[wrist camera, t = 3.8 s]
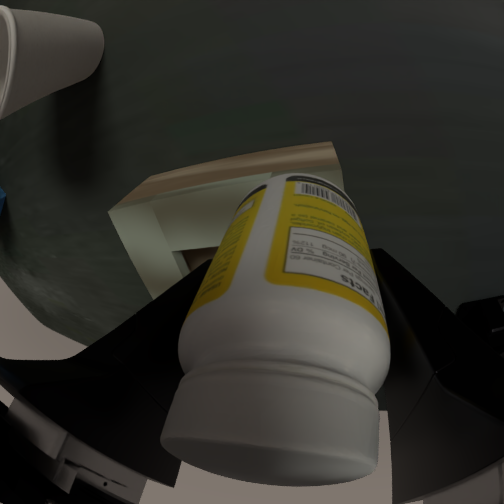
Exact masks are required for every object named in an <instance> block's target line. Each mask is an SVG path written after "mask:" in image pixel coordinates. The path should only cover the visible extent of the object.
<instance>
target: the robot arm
mask: <svg viewBox="0 0 504 504" xmlns="http://www.w3.org/2000/svg"><path fill="white" fill-rule="evenodd" d="M369 251H370V255H371V259H372V262H373V266H374V270H375V274H376V278H377V281H378V286H379V290H380V295H381V299H382V304H383V309H384V313H385V319H386V324H387V329H388V335H389V340H390V366H389V371H388V374H387V376H386V379H385V381H384V387H385V395H386V403H387V411H388V420H389V431H390V441H391V443H390V444H391V461H392V504H404V503H410V502H415V501H420V500H423V504H504V312H503V310H502V308H503V306H504V295H503V296H498V297H493V298H488V299H483V300H478V301H473V302H467V303H464V304H462V305H461V307H460V310H459V312H458V315H457V316H456V315H455V314H454V313H452V312H451V311H450V310H449V309H448V308H447V307H445V305H444V304H443V303H442V302H441V301H440V300H439V299H438V298H437V297H436V296H435V295H434V294H433V293H432V292H431V291H429V290H428V289H427V288H426V287H425V286H424V285H423V284H422V283H421V282H420V281H419V280H418V279H416V278H415V277H414V276H413V275H412V274H411V273H410V272H409V271H407V270H406V269H405V268H404V267H403V266H402V265H401V264H400V263H398V262H397V261H396V260H395V259H394V258H393V257H391V256H390V255H389V254H388V253H387V252H386V251H384V250H383V249H381V248H378V249H370V250H369ZM212 261H213V259H208V260H206V261H205V262H204V263H202V264H201V265H200V266H198V267H197V268H196V269H194V270H193V271H192V272H190V273H189V274H187V275H186V276H185V277H183V278H182V279H181V280H179V281H178V282H177V283H175V284H174V285H173V286H171V287H170V288H169V289H167V290H166V291H165V292H163V293H162V294H161V295H159V296H158V297H157V298H155V299H154V300H153V301H151V302H150V303H149V304H147V305H146V306H145V307H143V308H142V309H141V310H140V311H138V312H137V313H136V314H134V315H133V316H132V317H130V318H129V319H128V320H126V321H125V322H124V323H122V324H121V325H120V326H118V327H117V328H115V329H114V330H113V331H111V332H110V333H108V334H107V335H105V336H104V337H102V338H101V339H99V340H98V341H96V342H95V343H93V344H92V345H90V346H89V347H87V348H86V349H84V350H83V351H81V352H80V353H78V354H76V355H75V356H73V357H70V358H67V359H63V360H12V359H5V358H2V357H0V385H1V386H2V387H3V388H5V389H6V390H7V391H8V392H9V393H10V394H11V395H12V396H13V397H14V400H13V402H12V403H11V405H10V407H9V408H8V407H7V406H6V405H5V404H4V403H2V402H1V401H0V503H3V504H139V501H140V498H141V495H142V492H143V489H144V487H145V484H146V481H147V479H149V480H152V481H155V482H158V483H160V484H163V485H166V486H169V487H173V488H174V485H175V483H176V479H177V476H178V472H179V469H180V465H181V461H182V460H180V459H178V458H177V457H175V456H173V455H172V454H170V453H169V452H168V451H167V450H165V449H164V448H163V446H162V445H161V442H160V437H161V434H162V430H163V427H164V424H165V421H166V418H167V415H168V413H169V410H170V407H171V404H172V402H173V399H174V396H175V392H176V391H177V389H178V386H179V383H180V380H181V379H182V378H183V376H184V375H185V373H184V372H183V369H182V367H181V364H180V361H179V356H178V342H179V336H180V331H181V328H182V326H183V323H184V321H185V319H186V316H187V314H188V312H189V310H190V307H191V305H192V303H193V301H194V299H195V297H196V295H197V293H198V290H199V288H200V286H201V284H202V282H203V280H204V277H205V275H206V273H207V271H208V269H209V267H210V265H211V263H212Z"/></svg>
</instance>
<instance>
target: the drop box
mask: <svg viewBox="0 0 504 504" xmlns="http://www.w3.org/2000/svg"><path fill="white" fill-rule="evenodd" d="M289 173H304V174H311V175H315V176H318V177H321V178H323V179H326V180H328V181H330V182H332V183H333V184H335V185H336V186H338V187H339V188H340V189H341V190H342V191H343V192H344V186H343V177H342V170H341V167H340V164H339V161H338V158H337V155H336V152H335V150H334V147H333V144H332V141H330V142H322V143H314V144H306V145H299V146H292V147H285V148H279V149H272V150H266V151H261V152H255V153H250V154H244V155H239V156H234V157H229V158H224V159H219V160H215V161H210V162H206V163H201V164H197V165H193V166H189V167H185V168H181V169H177V170H173V171H169V172H165V173H161V174H158V175H154V176H150V177H149V178H148V179H146V180H145V181H144V182H143V183H141V184H140V185H139V186H138V187H136V188H135V189H134V190H133V191H132V192H130V193H129V194H128V195H127V196H126V197H124V198H123V199H122V200H121V201H120V202H119V203H117V204H116V205H115V206H114V207H113V208H112V209H111V210H110V211H108V213H109V215H110V217H111V220H112V222H113V224H114V226H115V228H116V230H117V232H118V234H119V236H120V238H121V240H122V242H123V244H124V246H125V248H126V250H127V252H128V254H129V256H130V258H131V260H132V262H133V264H134V266H135V267H136V269H137V271H138V273H139V275H140V277H141V278H142V280H143V282H144V284H145V286H146V287H147V289H148V291H149V293H150V294H151V296H152V298H153V300H154V299H155V298H157V297H158V296H159V295H161V294H162V293H163V292H165V291H166V290H167V289H169V288H170V287H171V286H173V285H174V284H175V283H177V282H178V281H179V280H181V279H182V278H183V277H185V276H186V275H187V274H189V273H190V272H192V271H193V270H194V269H196V268H197V267H198V266H200V265H201V264H202V263H204V262H205V261H206V260H208V259H213V258H214V256H215V254H216V252H217V250H218V248H219V246H220V243H221V241H222V239H223V237H224V235H225V233H226V231H227V229H228V227H229V224H230V223H231V221H232V218H233V216H234V214H235V212H236V210H237V208H238V207H239V205H240V203H241V201H242V200H243V198H244V197H245V196H246V195H247V194H248V193H249V192H250V191H251V190H252V189H253V188H254V187H256V186H257V185H259V184H260V183H262V182H264V181H266V180H268V179H270V178H272V177H275V176H279V175H283V174H289Z"/></svg>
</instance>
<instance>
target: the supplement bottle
mask: <svg viewBox="0 0 504 504" xmlns="http://www.w3.org/2000/svg"><path fill="white" fill-rule="evenodd" d="M178 356H179V361H180V364H181V367H182V369H183V372H184V373H185V375H184V376H183V378H182V379H181V380H180V383H179V386H178V389H177V391H176V392H175V396H174V399H173V402H172V404H171V407H170V410H169V413H168V415H167V418H166V421H165V424H164V427H163V430H162V434H161V437H160V442H161V445H162V446H163V448H164V449H165V450H167V451H168V452H169V453H170V454H172V455H173V456H175V457H177V458H178V459H180V460H182V461H184V462H186V463H188V464H190V465H192V466H195V467H197V468H200V469H203V470H205V471H208V472H211V473H214V474H217V475H221V476H224V477H228V478H232V479H236V480H241V481H246V482H252V483H259V484H267V485H278V486H321V485H331V484H338V483H344V482H350V481H353V480H356V479H360V478H362V477H365V476H367V475H369V474H371V473H372V472H373V471H374V470H375V468H376V466H377V462H378V444H379V443H378V442H379V420H380V416H379V410H378V401H377V399H376V397H375V394H376V393H377V391H378V390H379V389H380V387H381V386H382V385H383V383H384V381H385V379H386V376H387V374H388V371H389V366H390V340H389V335H388V329H387V324H386V319H385V313H384V309H383V304H382V299H381V295H380V290H379V286H378V281H377V278H376V274H375V270H374V266H373V262H372V259H371V255H370V251H369V248H368V244H367V241H366V237H365V234H364V231H363V227H362V224H361V221H360V217H359V214H358V212H357V210H356V208H355V206H354V204H353V203H352V201H351V200H350V198H349V197H348V196H347V195H346V194H345V193H344V192H343V191H342V190H341V189H340V188H339V187H338V186H336V185H335V184H333V183H332V182H330V181H328V180H326V179H323V178H321V177H318V176H315V175H311V174H304V173H289V174H283V175H279V176H275V177H272V178H270V179H268V180H266V181H264V182H262V183H260V184H259V185H257V186H256V187H254V188H253V189H252V190H251V191H250V192H249V193H248V194H247V195H246V196H245V197H244V198H243V200H242V201H241V203H240V205H239V207H238V208H237V210H236V212H235V214H234V216H233V218H232V221H231V223H230V224H229V227H228V229H227V231H226V233H225V235H224V237H223V239H222V241H221V243H220V246H219V248H218V250H217V252H216V254H215V256H214V258H213V261H212V263H211V265H210V267H209V269H208V271H207V273H206V275H205V277H204V280H203V282H202V284H201V286H200V288H199V290H198V293H197V295H196V297H195V299H194V301H193V303H192V305H191V307H190V310H189V312H188V314H187V316H186V319H185V321H184V323H183V326H182V328H181V331H180V336H179V342H178Z"/></svg>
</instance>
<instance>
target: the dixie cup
mask: <svg viewBox="0 0 504 504" xmlns="http://www.w3.org/2000/svg"><path fill="white" fill-rule="evenodd" d="M103 51H104V36H103V32H102V30H101V28H100V27H99V26H98V25H97V24H96V23H94V22H92V21H87V20H83V19H78V18H74V17H69V16H63V15H58V14H51V13H45V12H37V11H28V10H16V9H9V8H8V7H6V6H2V5H0V120H1V119H3V118H4V117H6V116H8V115H9V114H11V113H13V112H15V111H17V110H18V109H20V108H22V107H24V106H26V105H28V104H30V103H32V102H34V101H36V100H38V99H40V98H42V97H44V96H46V95H49V94H51V93H53V92H55V91H58V90H60V89H63V88H66V87H68V86H70V85H72V84H75V83H77V82H80V81H82V80H84V79H86V78H88V77H89V76H90V75H91V74H92V73H93V72H94V71H95V69H96V68H97V66H98V65H99V63H100V60H101V58H102V55H103Z"/></svg>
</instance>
